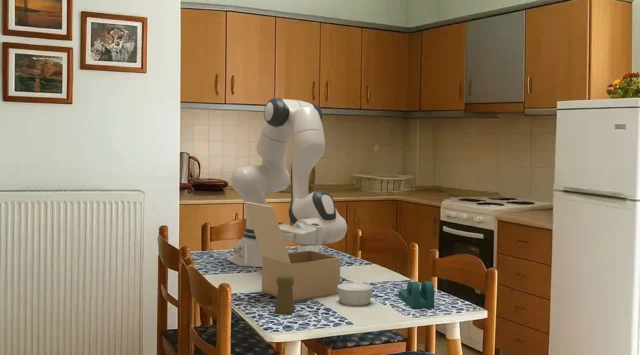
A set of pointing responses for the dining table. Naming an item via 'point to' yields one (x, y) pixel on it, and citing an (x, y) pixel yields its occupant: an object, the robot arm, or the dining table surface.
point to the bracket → (418, 295)
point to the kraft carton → (303, 274)
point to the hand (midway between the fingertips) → (270, 235)
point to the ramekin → (355, 293)
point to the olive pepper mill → (285, 295)
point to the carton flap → (267, 231)
